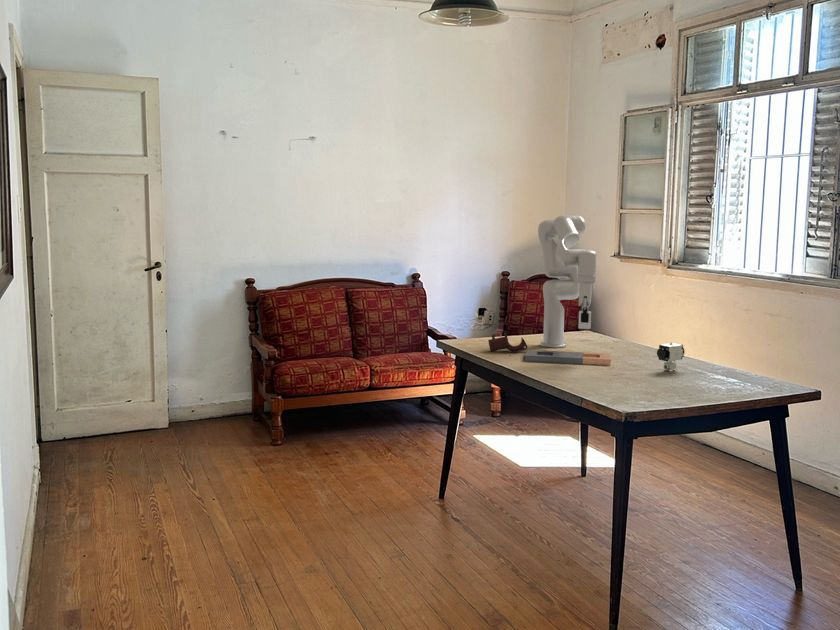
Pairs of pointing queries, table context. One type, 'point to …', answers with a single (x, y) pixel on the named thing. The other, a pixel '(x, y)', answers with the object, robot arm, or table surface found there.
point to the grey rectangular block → (584, 325)
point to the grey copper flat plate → (568, 357)
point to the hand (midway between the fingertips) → (584, 321)
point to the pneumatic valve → (670, 354)
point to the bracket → (505, 344)
